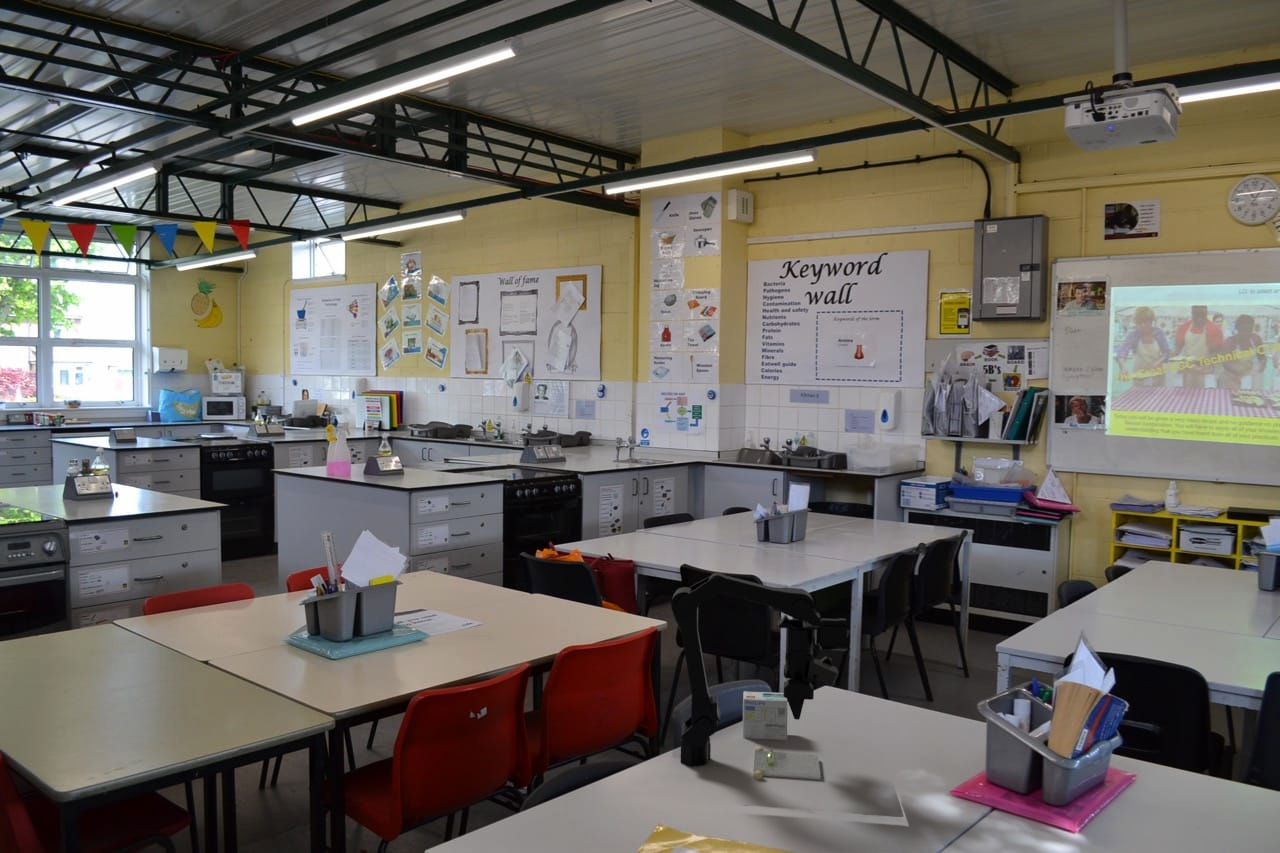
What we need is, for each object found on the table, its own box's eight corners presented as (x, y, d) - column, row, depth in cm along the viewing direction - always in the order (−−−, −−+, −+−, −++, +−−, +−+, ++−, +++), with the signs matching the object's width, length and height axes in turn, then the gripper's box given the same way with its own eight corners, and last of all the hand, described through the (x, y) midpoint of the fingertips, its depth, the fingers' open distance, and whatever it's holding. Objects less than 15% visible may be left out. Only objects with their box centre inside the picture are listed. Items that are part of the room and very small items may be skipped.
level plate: (753, 775, 194) (753, 761, 194) (754, 755, 205) (754, 743, 205) (820, 779, 192) (820, 766, 192) (818, 760, 203) (818, 747, 203)
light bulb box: (786, 735, 222) (786, 691, 222) (788, 746, 215) (788, 700, 215) (742, 733, 223) (742, 690, 223) (742, 743, 216) (743, 698, 216)
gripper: (839, 662, 188) (836, 736, 189) (834, 640, 207) (832, 708, 207) (784, 658, 190) (782, 732, 190) (784, 636, 209) (782, 704, 209)
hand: (796, 719), depth 199 cm, fingers closed
